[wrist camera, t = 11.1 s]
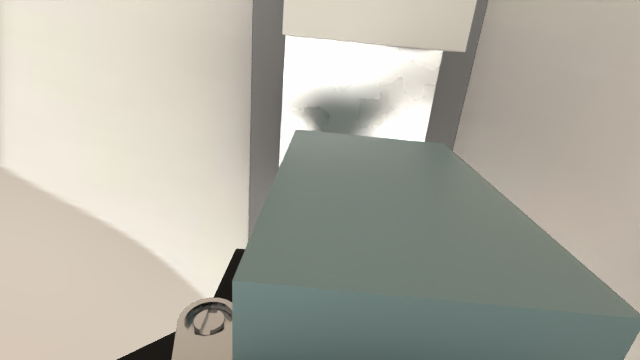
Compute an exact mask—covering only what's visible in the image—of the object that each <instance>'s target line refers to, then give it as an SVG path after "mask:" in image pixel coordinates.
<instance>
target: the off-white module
mask: <svg viewBox="0 0 640 360" xmlns="http://www.w3.org/2000/svg"><path fill="white" fill-rule="evenodd" d="M476 2H477V0H284V9H283V30H282V34H284V35H288V36H292V37H300V38H310V39H321V40H331V41H341V42H351V43H362V44H372V45H382V46H392V47H402V48H413V49H423V50H433V51H453V52H465V51H466V46H467V42H468V37H469V33H470V29H471V24H472V20H473V16H474V11H475V7H476Z"/></svg>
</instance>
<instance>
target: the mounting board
mask: <svg viewBox="0 0 640 360" xmlns="http://www.w3.org/2000/svg"><path fill="white" fill-rule="evenodd" d="M487 3H488V0H477V2H476V7H475V11H474V16H473V20H472V24H471V29H470V33H469V37H468V42H467V46H466V51H465V52H453V51H433V50H423V49H413V48H402V47H392V46H382V45H372V44H362V43H351V42H341V41H331V40H321V39H310V38H300V37H292V36H288V35H284V34H282V30H283V9H284V0H253V22H252V77H251V131H250V185H249V239H250V237H251V235H252V232H253V230H254V227H255V225H256V223H257V220H258V218H259V215H260V213H261V211H262V208H263V206H264V203H265V201H266V199H267V196H268V194H269V191H270V189H271V187H272V184H273V182H274V179H275V177H276V175H277V172H278V170H279V167H280V165H281V163H282V160H283V158H284V155H285V153H286V151H287V148H288V146H289V143H290V141H291V139H292V136H293V134H294V131H295V129H298V130H308V131H318V132H329V133H339V134H350V135H360V136H370V137H381V138H391V139H402V140H412V141H423V142H433V143H443V144H445V145H446V146H447V147H448V148H450V149H451V150H453V146H454V141H455V137H456V133H457V129H458V125H459V121H460V116H461V112H462V108H463V104H464V100H465V95H466V91H467V87H468V83H469V79H470V74H471V70H472V66H473V62H474V58H475V54H476V49H477V45H478V41H479V37H480V33H481V28H482V24H483V20H484V16H485V12H486V7H487ZM249 239H248V242H249Z"/></svg>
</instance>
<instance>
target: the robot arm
mask: <svg viewBox="0 0 640 360" xmlns="http://www.w3.org/2000/svg"><path fill="white" fill-rule="evenodd" d="M244 251H245V249H236V251H235V252H234V254H233V257H232V259H231V261H230V263H229V265H228V267H227V270H226V272H225V274H224V276H223V278H222V280H221V283H220V285H219V287H218V289H217V291H216V293H215V296H214V298H206V299H201V300H199V301H196V302H194V303H192V304H190V305H189V306H188V307H186V308H185V309H184V310H183V311H182V313H181V314H180V316H179V318H178V321H177V328H176V332H174V333H171V334H170V335H167V336H165V337H163V338H161V339H159V340H157V341H155V342H153V343H151V344H148V345H146V346H144V347H142V348H140V349H138V350H136V351H135V352H132V353H130V354H128V355H126V356H123V357H122V358H120V359H117V360H232V280H233V278H234V275H235V273H236V271H237V268H238V266H239V263H240V261H241V259H242V256H243V254H244Z"/></svg>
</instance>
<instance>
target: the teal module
mask: <svg viewBox="0 0 640 360" xmlns="http://www.w3.org/2000/svg"><path fill="white" fill-rule="evenodd" d="M639 331H640V313H638V312H637V311H636V310H635V309H634V308H633V307H632V306H630V305H629V304H628V303H627V302H626V301H625V300H623V299H622V298H621V297H620V296H619V295H618V294H617V293H615V292H614V291H613V290H612V289H611V288H610V287H609V286H607V285H606V284H605V283H604V282H603V281H602V280H600V279H599V278H598V277H597V276H596V275H595V274H594V273H592V272H591V271H590V270H589V269H588V268H587V267H585V266H584V265H583V264H582V263H581V262H580V261H579V260H577V259H576V258H575V257H574V256H573V255H572V254H571V253H569V252H568V251H567V250H566V249H565V248H564V247H562V246H561V245H560V244H559V243H558V242H557V241H556V240H554V239H553V238H552V237H551V236H550V235H549V234H547V233H546V232H545V231H544V230H543V229H542V228H541V227H539V226H538V225H537V224H536V223H535V222H534V221H533V220H531V219H530V218H529V217H528V216H527V215H526V214H524V213H523V212H522V211H521V210H520V209H519V208H518V207H516V206H515V205H514V204H513V203H512V202H511V201H509V200H508V199H507V198H506V197H505V196H504V195H503V194H501V193H500V192H499V191H498V190H497V189H496V188H494V187H493V186H492V185H491V184H490V183H489V182H488V181H486V180H485V179H484V178H483V177H482V176H481V175H480V174H478V173H477V172H476V171H475V170H474V169H473V168H471V167H470V166H469V165H468V164H467V163H466V162H465V161H463V160H462V159H461V158H460V157H459V156H458V155H456V154H455V153H454V152H453V151H452V150H451V149H450V148H448V147H447V146H446V145H445V144H443V143H433V142H423V141H412V140H402V139H391V138H381V137H370V136H360V135H350V134H339V133H329V132H318V131H308V130H298V129H295V131H294V134H293V136H292V139H291V141H290V143H289V146H288V148H287V151H286V153H285V155H284V158H283V160H282V163H281V165H280V167H279V170H278V172H277V175H276V177H275V179H274V182H273V184H272V187H271V189H270V191H269V194H268V196H267V199H266V201H265V203H264V206H263V208H262V211H261V213H260V215H259V218H258V220H257V223H256V225H255V227H254V230H253V232H252V235H251V237H250V239H249V242H248V244H247V247H246V249H245V251H244V254H243V256H242V259H241V261H240V263H239V266H238V268H237V271H236V273H235V275H234V278H233V280H232V360H624V358H625V356H626V354H627V352H628V351H629V349H630V347H631V345H632V343H633V342H634V340H635V338H636V336H637V334H638V333H639Z"/></svg>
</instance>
